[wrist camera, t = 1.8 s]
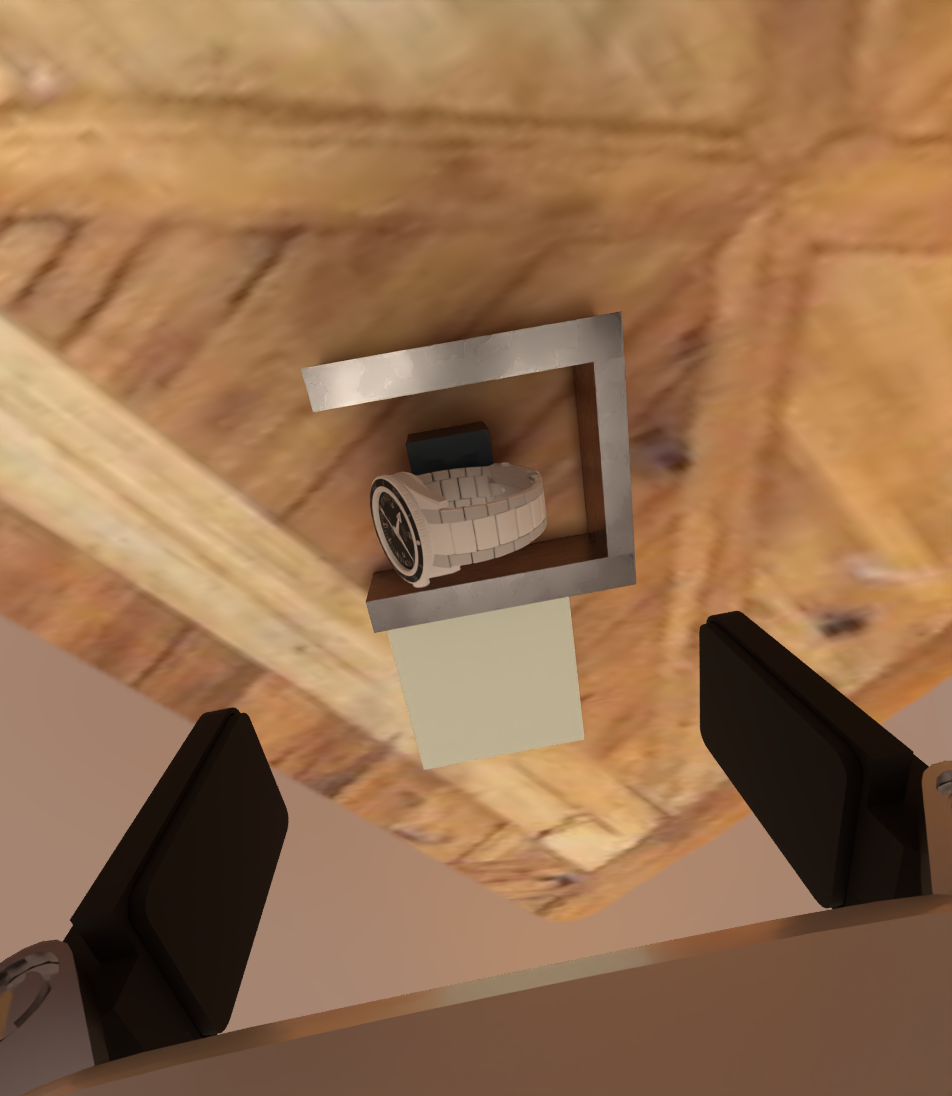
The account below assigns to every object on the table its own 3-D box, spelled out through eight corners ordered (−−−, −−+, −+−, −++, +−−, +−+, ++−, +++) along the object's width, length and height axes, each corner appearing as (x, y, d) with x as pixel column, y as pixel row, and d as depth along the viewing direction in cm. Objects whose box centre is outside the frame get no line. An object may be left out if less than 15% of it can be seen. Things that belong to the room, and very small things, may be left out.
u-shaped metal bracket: (318, 366, 27) (301, 368, 24) (596, 317, 27) (621, 311, 24) (381, 600, 32) (374, 632, 29) (612, 557, 33) (636, 584, 29)
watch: (374, 440, 29) (343, 487, 19) (513, 416, 29) (556, 450, 19) (395, 531, 31) (377, 619, 21) (524, 508, 31) (570, 584, 21)
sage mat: (387, 624, 33) (386, 629, 33) (566, 591, 33) (568, 595, 33) (423, 763, 38) (423, 769, 37) (582, 733, 38) (584, 739, 37)
